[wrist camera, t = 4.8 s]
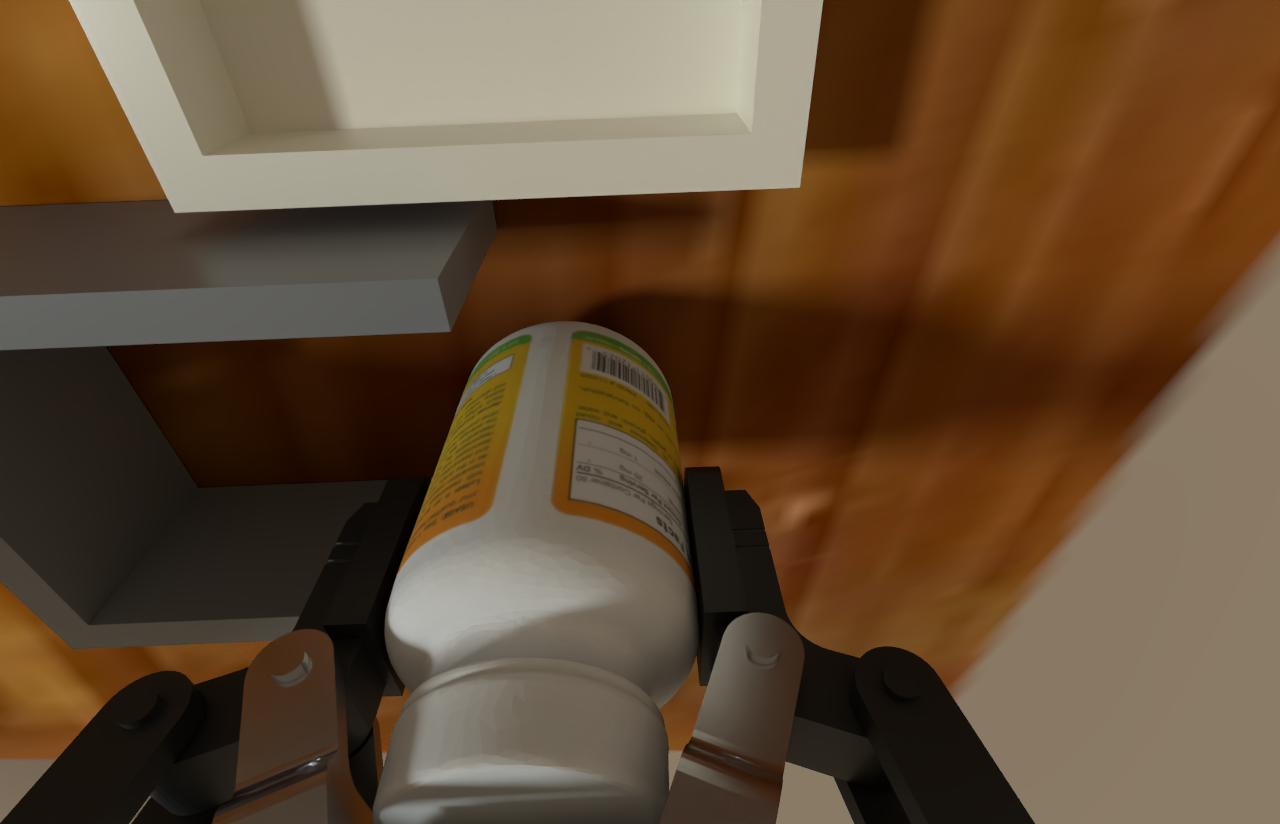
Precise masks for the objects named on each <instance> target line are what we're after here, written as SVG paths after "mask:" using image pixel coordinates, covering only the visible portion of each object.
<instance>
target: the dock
mask: <svg viewBox="0 0 1280 824" xmlns="http://www.w3.org/2000/svg"><path fill="white" fill-rule="evenodd" d="M496 231H497V225H496V219H495V214H494V208H493V203H492V200H480V201H456V202H431V203H406V204H382V205H357V206H332V207H308V208H283V209H258V210H234V211H209V212H184V213H175V212H174V210H173V208H172V206H171V204H170V202H169V200H154V201H130V202H105V203H80V204H56V205H31V206H6V207H0V582H1V583H3V584H4V585H5V586H6V587H7V588H8V589H9V590H10V591H11V592H12V593H13V594H14V595H15V596H16V597H17V598H19V599H20V600H21V601H22V602H23V603H24V604H25V605H26V606H27V607H28V608H29V609H30V610H31V611H32V612H33V613H35V614H36V615H37V616H38V617H39V618H40V619H41V620H42V621H43V622H44V623H45V624H46V625H47V626H48V627H49V628H51V629H52V630H53V631H54V632H55V633H56V634H57V635H58V636H59V637H60V638H61V639H62V640H63V641H64V642H65V643H67V644H68V645H69V646H70V647H71V648H72V649H86V648H109V647H133V646H157V645H181V644H205V643H229V642H253V641H274V640H275V639H277V638H279V637H281V636H283V635H285V634H287V633H290V632H292V630H293V629H294V627H295V625H296V623H297V621H298V619H299V617H300V615H301V613H302V611H303V609H304V607H305V605H306V603H307V601H308V598H309V596H310V594H311V592H312V590H313V588H314V586H315V584H316V582H317V580H318V578H319V576H320V574H321V572H322V570H323V568H324V566H325V564H327V563H328V558H329V556H330V554H331V551H332V549H333V547H336V541H337V539H338V537H339V535H340V533H341V531H342V529H343V527H344V525H345V523H346V521H347V520H348V519H349V518H350V517H351V516H352V515H353V514H354V513H355V512H356V511H357V510H358V509H359V508H360V507H361V506H362V505H363V504H364V503H371V502H378V500H379V498H380V496H381V494H382V491H383V489H384V487H385V485H386V483H387V481H388V480H371V481H347V482H323V483H298V484H274V485H250V486H226V487H202V488H198V487H197V485H196V484H195V482H194V481H193V479H192V477H191V476H190V474H189V473H188V471H187V470H186V468H185V467H184V465H183V464H182V462H181V461H180V459H179V458H178V456H177V455H176V453H175V452H174V450H173V448H172V447H171V445H170V444H169V442H168V441H167V439H166V438H165V436H164V435H163V433H162V432H161V430H160V429H159V427H158V426H157V424H156V422H155V421H154V419H153V418H152V416H151V415H150V413H149V412H148V410H147V409H146V407H145V406H144V404H143V403H142V401H141V400H140V398H139V397H138V395H137V393H136V392H135V390H134V389H133V387H132V386H131V384H130V383H129V381H128V380H127V378H126V377H125V375H124V374H123V372H122V371H121V369H120V368H119V366H118V364H117V363H116V361H115V360H114V358H113V357H112V355H111V354H110V352H109V351H108V349H107V348H106V346H116V345H140V344H164V343H189V342H213V341H238V340H262V339H287V338H311V337H336V336H360V335H384V334H409V333H433V332H451V330H452V328H453V326H454V323H455V321H456V319H457V317H458V315H459V312H460V310H461V308H462V306H463V304H464V301H465V299H466V297H467V295H468V293H469V290H470V288H471V286H472V284H473V282H474V279H475V277H476V275H477V273H478V271H479V268H480V266H481V264H482V262H483V260H484V257H485V255H486V253H487V251H488V249H489V246H490V244H491V242H492V240H493V238H494V235H495V233H496ZM430 480H432V478H430Z"/></svg>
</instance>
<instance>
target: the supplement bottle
mask: <svg viewBox="0 0 1280 824" xmlns="http://www.w3.org/2000/svg"><path fill="white" fill-rule="evenodd" d="M384 635H385V643H386V649H387V653H388V656H389V659H390V662H391V664H392V666H393V668H394V670H395V671H396V673H397V675H398V677H399V678H400V680H401V681H402V683H403V684H404V685H405V686H406V687H407V688H408V690H410V691H411V692H412V694H411V695H410V696H409V698H408V699H407V700H406V702H405V703H404V705H403V707H402V710H401V714H400V717H399V718H398V720H397V721H396V723H395V726H394V729H393V732H392V736H391V740H390V744H389V749H388V752H387V756H386V760H385V764H384V767H383V771H382V775H381V779H380V782H379V786H378V790H377V794H376V797H375V801H374V805H373V823H374V824H659V823H660V819H661V816H662V813H663V810H664V807H665V804H666V801H667V797H668V794H669V772H668V751H669V746H668V737H667V733H666V731H665V725H664V720H663V717H662V714H661V712H660V710H659V708H660V707H661V706H663V705H664V704H665V703H667V702H668V701H669V700H670V699H671V698H672V697H673V696H674V695H675V693H676V692H677V691H678V690H679V689H680V687H681V686H682V685H683V683H684V682H685V680H686V678H687V676H688V675H689V673H690V671H691V669H692V667H693V664H694V661H695V658H696V654H697V650H698V643H699V618H698V602H697V593H696V588H695V577H694V571H693V563H692V556H691V547H690V538H689V530H688V521H687V513H686V503H685V496H684V488H683V480H682V472H681V464H680V456H679V447H678V438H677V429H676V420H675V412H674V407H673V401H672V396H671V392H670V389H669V386H668V384H667V381H666V379H665V377H664V375H663V374H662V372H661V370H660V369H659V367H658V366H657V364H656V363H655V362H654V361H653V359H652V358H651V357H650V356H649V355H648V354H647V353H646V352H645V351H644V350H643V349H642V348H640V347H639V346H638V345H637V344H635V343H634V342H633V341H631V340H629V339H628V338H626V337H624V336H623V335H621V334H619V333H617V332H614V331H612V330H610V329H607V328H605V327H601V326H598V325H594V324H590V323H584V322H576V321H556V322H547V323H542V324H537V325H533V326H530V327H527V328H524V329H521V330H519V331H516V332H514V333H512V334H510V335H509V336H507V337H505V338H503V339H502V340H500V341H499V342H498V343H496V344H495V345H494V346H493V347H491V348H490V349H489V350H488V351H487V352H486V353H485V354H484V355H483V356H482V358H481V359H480V360H479V361H478V363H477V364H476V366H475V367H474V369H473V371H472V373H471V375H470V377H469V379H468V382H467V384H466V386H465V389H464V391H463V394H462V397H461V400H460V403H459V405H458V407H457V411H456V414H455V417H454V420H453V423H452V425H451V428H450V431H449V434H448V436H447V439H446V442H445V445H444V447H443V450H442V453H441V456H440V458H439V461H438V464H437V467H436V469H435V472H434V475H433V478H432V480H431V483H430V486H429V488H428V491H427V494H426V497H425V499H424V502H423V505H422V507H421V510H420V513H419V516H418V518H417V521H416V524H415V526H414V529H413V532H412V535H411V537H410V540H409V543H408V545H407V548H406V551H405V553H404V556H403V559H402V562H401V564H400V567H399V570H398V573H397V576H396V579H395V582H394V585H393V589H392V592H391V595H390V599H389V602H388V605H387V609H386V615H385V630H384Z"/></svg>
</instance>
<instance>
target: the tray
mask: <svg viewBox="0 0 1280 824" xmlns="http://www.w3.org/2000/svg"><path fill="white" fill-rule="evenodd" d="M69 2H70V4H71V6H72V8H73V10H74V12H75V14H76V16H77V18H78V20H79V22H80V24H81V26H82V28H83V30H84V32H85V34H86V36H87V38H88V40H89V42H90V44H91V46H92V48H93V50H94V52H95V54H96V56H97V58H98V60H99V62H100V64H101V66H102V68H103V70H104V72H105V74H106V76H107V78H108V80H109V82H110V84H111V86H112V88H113V90H114V92H115V94H116V96H117V98H118V100H119V102H120V104H121V106H122V108H123V110H124V112H125V114H126V116H127V118H128V120H129V122H130V124H131V126H132V128H133V130H134V132H135V134H136V136H137V138H138V140H139V142H140V144H141V146H142V148H143V150H144V152H145V154H146V156H147V158H148V160H149V162H150V164H151V166H152V168H153V170H154V172H155V174H156V176H157V178H158V180H159V182H160V184H161V186H162V188H163V190H164V192H165V194H166V196H167V198H168V200H169V202H170V204H171V206H172V208H173V210H174V212H175V213H184V212H209V211H234V210H258V209H283V208H308V207H332V206H357V205H382V204H406V203H431V202H456V201H480V200H505V199H530V198H554V197H579V196H604V195H628V194H653V193H678V192H702V191H727V190H752V189H776V188H800V182H801V174H802V166H803V158H804V150H805V142H806V134H807V126H808V118H809V110H810V102H811V94H812V86H813V78H814V70H815V62H816V54H817V46H818V38H819V30H820V22H821V14H822V6H823V0H69Z"/></svg>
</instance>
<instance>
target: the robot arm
mask: <svg viewBox="0 0 1280 824" xmlns="http://www.w3.org/2000/svg"><path fill="white" fill-rule="evenodd" d="M430 483H431V480H430V478H429V477H427V476H414V477H392V478H390V479H389V480H388V481H387V483H386V485H385V487H384V489H383V491H382V494H381V496H380V498H379V500H378V502H371V503H364V504H363V505H362V506H361V507H360V508H359V509H358V510H357V511H356V512H355V513H354V514H353V515H352V516H351V517H350V518H349V519H348V520H347V521H346V523H345V525H344V527H343V529H342V531H341V533H340V535H339V537H338V539H337V541H336V547H333V549H332V551H331V554H330V556H329V558H328V563H327V564H325V566H324V568H323V570H322V572H321V574H320V576H319V578H318V580H317V582H316V584H315V586H314V588H313V590H312V592H311V594H310V596H309V598H308V601H307V603H306V605H305V607H304V609H303V611H302V613H301V615H300V617H299V619H298V621H297V623H296V625H295V627H294V629H293V630H292V632H290V633H287V634H285V635H283V636H281V637H279V638H277V639H275V640H274V641H273V642H271V643H270V644H268V645H267V646H266V647H265V648H264V649H262V650H261V652H260V653H259V654H258V655H257V656H256V657H255V658H254V660H253V661H252V663H251V664H250V666H249V667H247V668H245V669H242V670H239V671H236V672H233V673H230V674H227V675H224V676H220V677H217V678H214V679H211V680H208V681H205V682H202V683H199V684H195V685H194V684H193V683H192V682H191V681H190V680H189V679H188V678H187V677H186V675H184V674H182V673H180V672H176V671H161V672H157V673H153V674H150V675H147V676H144V677H142V678H140V679H138V680H136V681H134V682H133V683H131V684H129V685H128V686H126V687H125V688H123V689H122V690H121V691H119V692H118V693H117V694H116V695H115V696H113V697H112V698H111V699H110V700H109V701H108V702H107V703H106V704H105V705H104V706H103V708H102V709H101V710H100V711H99V712H98V713H97V714H96V715H95V717H94V718H93V719H92V720H91V721H90V722H89V723H88V725H87V726H86V727H85V728H84V729H83V730H82V731H81V732H80V734H79V735H78V736H77V737H76V738H75V739H74V740H73V741H72V743H71V744H70V745H69V746H68V747H67V748H66V749H65V751H64V752H63V753H62V754H61V755H60V756H59V757H58V758H57V760H56V761H55V762H54V763H53V764H52V765H51V767H50V768H49V769H48V770H47V771H46V772H45V773H44V774H43V775H42V777H41V778H40V779H39V780H38V781H37V782H36V783H35V784H34V786H33V787H32V788H31V789H30V790H29V791H28V792H27V793H26V795H25V796H24V797H23V798H22V799H21V800H20V801H19V803H18V804H17V805H16V806H15V807H14V808H13V809H12V810H11V812H10V813H9V814H8V815H7V816H6V817H5V818H4V819H3V821H2V822H1V823H0V824H129V823H130V821H131V820H132V819H133V817H134V816H135V815H136V813H137V812H138V810H139V809H140V808H141V807H142V805H143V804H144V802H145V801H146V800H147V798H148V797H149V796H151V798H150V799H149V801H148V802H147V803H146V805H145V806H144V807H143V809H142V810H141V811H140V813H139V814H138V816H137V817H136V818H135V820H134V821H133V822H132V824H374V823H373V805H374V801H375V797H376V794H377V790H378V786H379V782H380V779H381V775H382V771H383V759H382V749H381V738H380V728H379V723H378V720H377V718H376V714H377V711H378V708H379V705H380V701H381V698H382V696H402V695H403V692H404V688H405V685H404V684H403V683H402V681H401V680H400V678H399V677H398V675H397V673H396V671H395V670H394V668H393V666H392V664H391V662H390V659H389V656H388V653H387V649H386V643H385V635H384V630H385V615H386V609H387V605H388V602H389V599H390V595H391V592H392V589H393V585H394V582H395V579H396V576H397V573H398V570H399V567H400V564H401V562H402V559H403V556H404V553H405V551H406V548H407V545H408V543H409V540H410V537H411V535H412V532H413V529H414V526H415V524H416V521H417V518H418V516H419V513H420V510H421V507H422V505H423V502H424V499H425V497H426V494H427V491H428V488H429V486H430ZM684 496H685V503H686V513H687V521H688V530H689V538H690V547H691V556H692V563H693V571H694V577H695V588H696V593H697V602H698V618H699V643H698V650H697V654H696V655H697V664H698V673H699V683H700V686H707V689H706V692H705V696H704V699H703V702H702V705H701V709H700V712H699V715H698V718H697V721H696V725H695V728H694V731H693V734H692V737H691V739H690V741H689V743H688V744H686V746H685V748H684V750H683V752H682V755H681V757H680V761H679V763H678V766H677V769H676V772H675V775H674V779H673V782H672V785H671V788H670V791H669V794H668V797H667V801H666V804H665V807H664V810H663V813H662V816H661V819H660V823H659V824H776V819H777V813H778V807H779V802H780V796H781V790H782V783H783V772H784V767H785V762H790V763H793V764H796V765H799V766H802V767H805V768H808V769H811V770H814V771H817V772H820V773H823V774H826V775H830V776H833V777H834V779H835V781H836V783H837V786H838V788H839V790H840V792H841V795H842V797H843V799H844V802H845V804H846V806H847V808H848V811H849V813H850V815H851V817H852V820H853V822H854V824H1035V823H1034V822H1033V820H1032V818H1031V817H1030V815H1029V814H1028V812H1027V811H1026V809H1025V808H1024V806H1023V805H1022V803H1021V802H1020V800H1019V798H1018V797H1017V795H1016V794H1015V792H1014V791H1013V789H1012V788H1011V786H1010V785H1009V783H1008V782H1007V780H1006V779H1005V777H1004V776H1003V774H1002V772H1001V771H1000V769H999V768H998V766H997V765H996V763H995V762H994V760H993V759H992V757H991V756H990V754H989V752H988V751H987V749H986V748H985V747H984V745H983V743H982V742H981V740H980V739H979V737H978V736H977V734H976V733H975V731H974V729H973V728H972V726H971V725H970V723H969V722H968V720H967V719H966V717H965V716H964V714H963V713H962V711H961V709H960V708H959V706H958V705H957V703H956V702H955V700H954V699H953V697H952V696H951V694H950V693H949V691H948V690H947V688H946V686H945V685H944V683H943V682H942V680H941V679H940V677H939V676H938V674H937V673H936V672H935V671H934V669H933V668H932V667H931V666H930V665H929V664H928V663H927V662H925V661H924V660H923V659H922V658H920V657H918V656H917V655H915V654H913V653H911V652H909V651H907V650H904V649H901V648H896V647H886V646H884V647H877V648H874V649H871V650H869V651H868V652H866V653H865V654H864V655H863V656H862V657H861V658H858V657H854V656H850V655H846V654H843V653H839V652H835V651H832V650H828V649H825V648H822V647H820V646H818V645H816V644H814V643H812V642H811V641H809V640H807V639H806V638H805V637H804V636H802V635H801V634H800V633H799V632H798V631H797V630H796V629H795V627H794V626H793V625H792V623H791V622H790V620H789V618H788V616H787V613H786V610H785V607H784V603H783V599H782V595H781V591H780V587H779V583H778V579H777V575H776V571H775V567H774V563H773V559H772V555H771V551H770V549H769V543H768V539H767V535H766V532H765V527H764V523H763V519H762V515H761V511H760V507H759V506H758V505H757V504H756V503H755V501H754V500H753V499H752V498H751V496H750V495H749V494H748V493H747V492H746V490H730V491H724V486H723V480H722V475H721V470H720V468H719V466H718V467H690V468H685V478H684Z"/></svg>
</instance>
